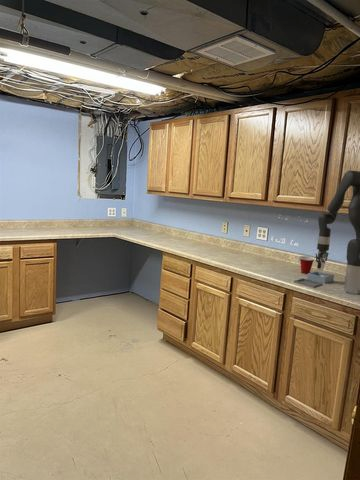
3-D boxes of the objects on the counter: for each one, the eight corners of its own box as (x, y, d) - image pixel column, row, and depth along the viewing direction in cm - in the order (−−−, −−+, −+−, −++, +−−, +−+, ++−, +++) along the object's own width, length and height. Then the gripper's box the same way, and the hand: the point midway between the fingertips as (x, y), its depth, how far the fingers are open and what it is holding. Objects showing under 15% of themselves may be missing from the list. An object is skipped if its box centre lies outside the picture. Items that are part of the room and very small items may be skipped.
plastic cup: (295, 273, 269) (297, 257, 267) (299, 270, 278) (301, 255, 276) (310, 275, 263) (312, 259, 261) (314, 273, 272) (316, 257, 270)
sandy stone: (327, 280, 247) (323, 281, 243) (321, 281, 250) (318, 282, 246) (325, 274, 247) (322, 275, 244) (320, 275, 250) (316, 276, 247)
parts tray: (322, 285, 238) (322, 283, 238) (313, 288, 230) (313, 285, 230) (302, 280, 248) (302, 278, 248) (293, 282, 240) (293, 280, 240)
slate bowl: (333, 281, 250) (333, 275, 250) (324, 284, 242) (325, 277, 241) (315, 277, 259) (316, 271, 259) (307, 279, 251) (307, 273, 250)
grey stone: (324, 269, 248) (325, 262, 248) (321, 270, 246) (322, 263, 245) (318, 268, 251) (319, 261, 250) (316, 269, 248) (316, 262, 248)
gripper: (324, 244, 238) (320, 270, 241) (333, 243, 248) (330, 267, 250) (313, 242, 243) (310, 267, 246) (323, 241, 253) (320, 265, 256)
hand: (320, 267), depth 248 cm, fingers open, 4 cm apart
